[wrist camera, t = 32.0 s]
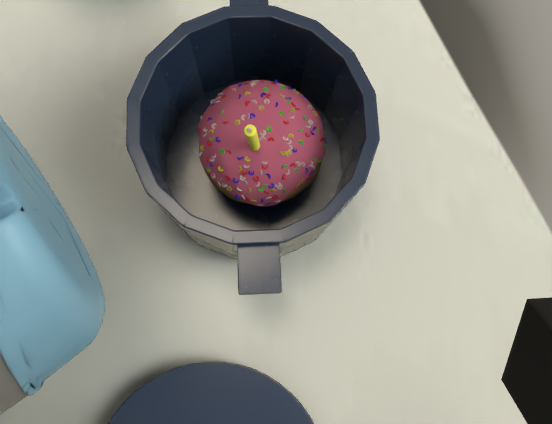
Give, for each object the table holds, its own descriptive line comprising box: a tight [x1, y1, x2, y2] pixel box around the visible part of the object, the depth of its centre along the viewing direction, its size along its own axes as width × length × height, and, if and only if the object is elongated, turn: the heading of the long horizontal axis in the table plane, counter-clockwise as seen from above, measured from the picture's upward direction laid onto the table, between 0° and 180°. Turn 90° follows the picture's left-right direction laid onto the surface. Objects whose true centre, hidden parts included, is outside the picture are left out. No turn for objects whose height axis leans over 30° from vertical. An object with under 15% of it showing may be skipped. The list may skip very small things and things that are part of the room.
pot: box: [126, 0, 380, 295], centre depth 33 cm, size 15×20×9 cm
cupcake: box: [198, 80, 327, 207], centre depth 31 cm, size 9×8×12 cm
